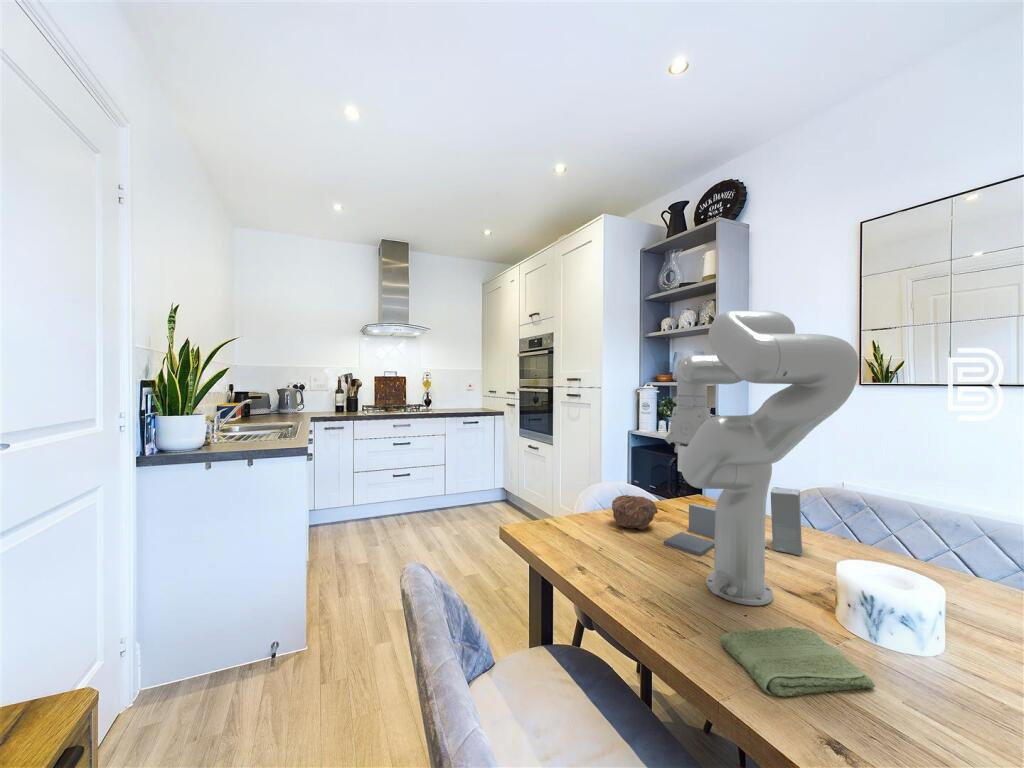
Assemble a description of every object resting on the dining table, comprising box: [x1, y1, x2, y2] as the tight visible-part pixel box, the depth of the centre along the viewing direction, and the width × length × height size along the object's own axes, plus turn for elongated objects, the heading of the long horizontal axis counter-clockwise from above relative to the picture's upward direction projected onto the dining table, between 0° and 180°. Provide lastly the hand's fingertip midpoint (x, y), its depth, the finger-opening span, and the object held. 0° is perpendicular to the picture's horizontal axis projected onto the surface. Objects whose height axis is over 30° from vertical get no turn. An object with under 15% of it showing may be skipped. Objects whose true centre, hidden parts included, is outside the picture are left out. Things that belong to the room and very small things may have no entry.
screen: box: [688, 503, 715, 540], centre depth 118 cm, size 2×13×8 cm, turn 42°
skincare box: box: [770, 486, 803, 557], centre depth 111 cm, size 8×7×16 cm
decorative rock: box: [611, 494, 659, 531], centre depth 126 cm, size 13×11×10 cm
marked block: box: [677, 444, 688, 473], centre depth 112 cm, size 5×5×7 cm
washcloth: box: [719, 626, 876, 697], centre depth 65 cm, size 13×18×3 cm
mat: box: [663, 531, 715, 557], centre depth 112 cm, size 10×10×1 cm
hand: (690, 467), depth 112 cm, fingers closed on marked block, 5 cm apart
